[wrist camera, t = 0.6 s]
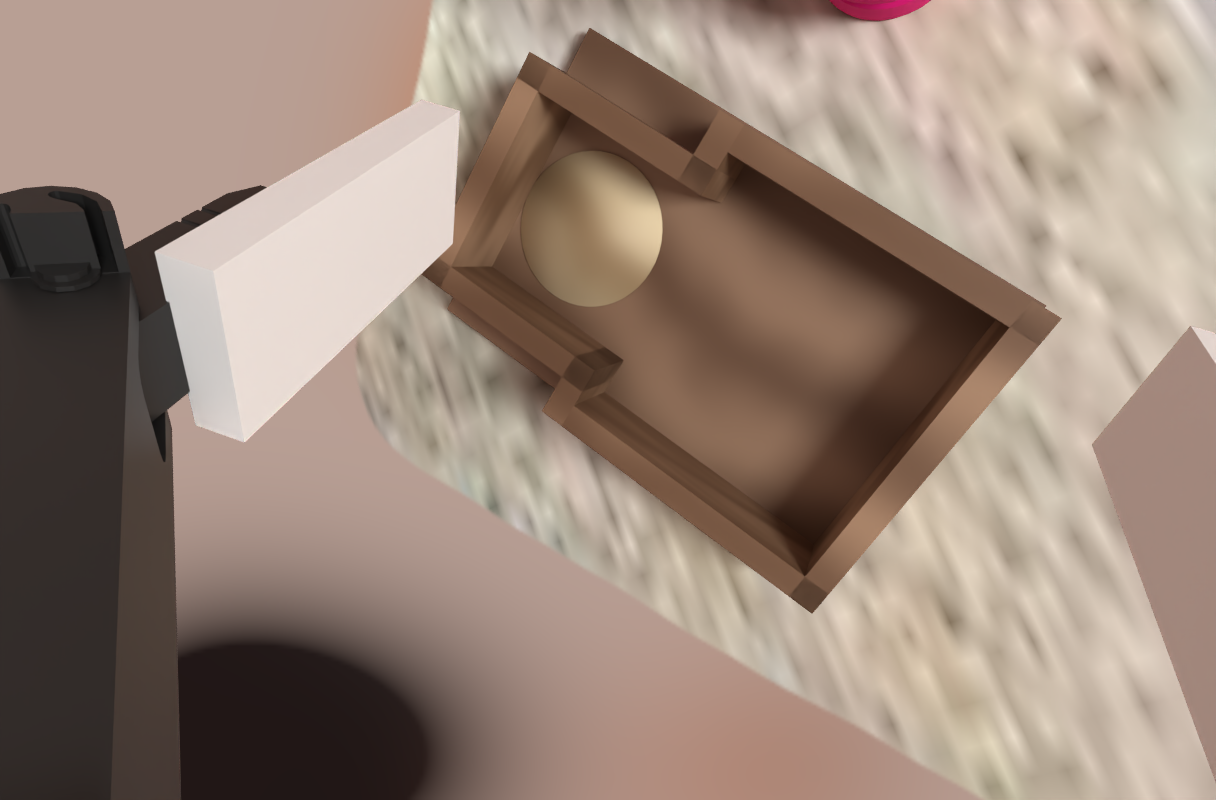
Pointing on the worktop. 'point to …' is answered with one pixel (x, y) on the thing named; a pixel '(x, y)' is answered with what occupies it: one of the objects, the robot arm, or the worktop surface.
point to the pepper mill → (878, 8)
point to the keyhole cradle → (725, 313)
